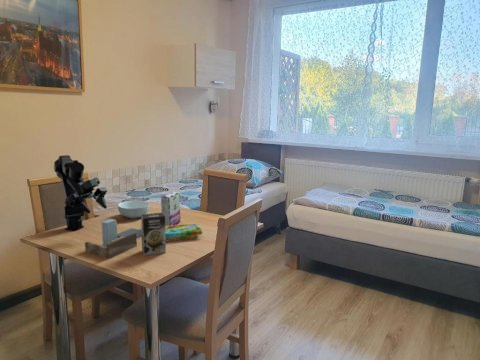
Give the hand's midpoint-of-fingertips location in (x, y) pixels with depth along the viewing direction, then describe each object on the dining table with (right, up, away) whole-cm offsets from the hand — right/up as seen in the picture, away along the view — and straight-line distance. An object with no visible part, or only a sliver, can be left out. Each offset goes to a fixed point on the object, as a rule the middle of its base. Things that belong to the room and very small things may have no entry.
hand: (98, 210), depth 159 cm
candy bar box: (+28, -10, +26) cm, 39 cm away
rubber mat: (+12, -13, +11) cm, 20 cm away
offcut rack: (+8, -16, -6) cm, 19 cm away
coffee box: (+27, -17, -8) cm, 33 cm away
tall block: (+6, -15, -2) cm, 16 cm away
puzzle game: (+34, -14, +10) cm, 38 cm away
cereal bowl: (+5, -7, +39) cm, 40 cm away
